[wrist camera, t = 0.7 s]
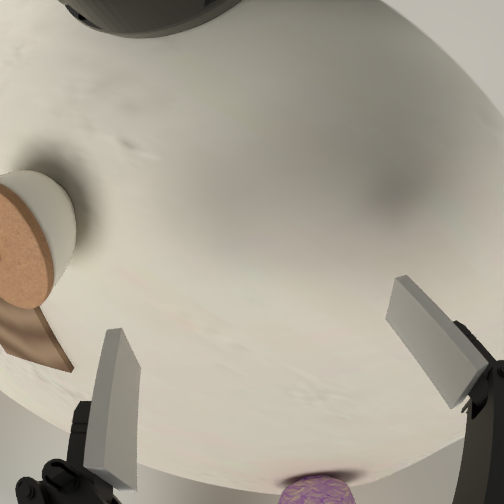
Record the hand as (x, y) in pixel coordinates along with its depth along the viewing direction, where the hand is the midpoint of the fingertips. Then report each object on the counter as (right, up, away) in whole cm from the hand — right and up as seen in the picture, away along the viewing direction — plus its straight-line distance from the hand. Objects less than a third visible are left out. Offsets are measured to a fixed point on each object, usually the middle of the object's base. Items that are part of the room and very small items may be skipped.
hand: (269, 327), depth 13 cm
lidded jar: (-19, +7, +10) cm, 23 cm away
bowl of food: (+15, -52, +43) cm, 69 cm away
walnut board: (-35, -6, +18) cm, 40 cm away
